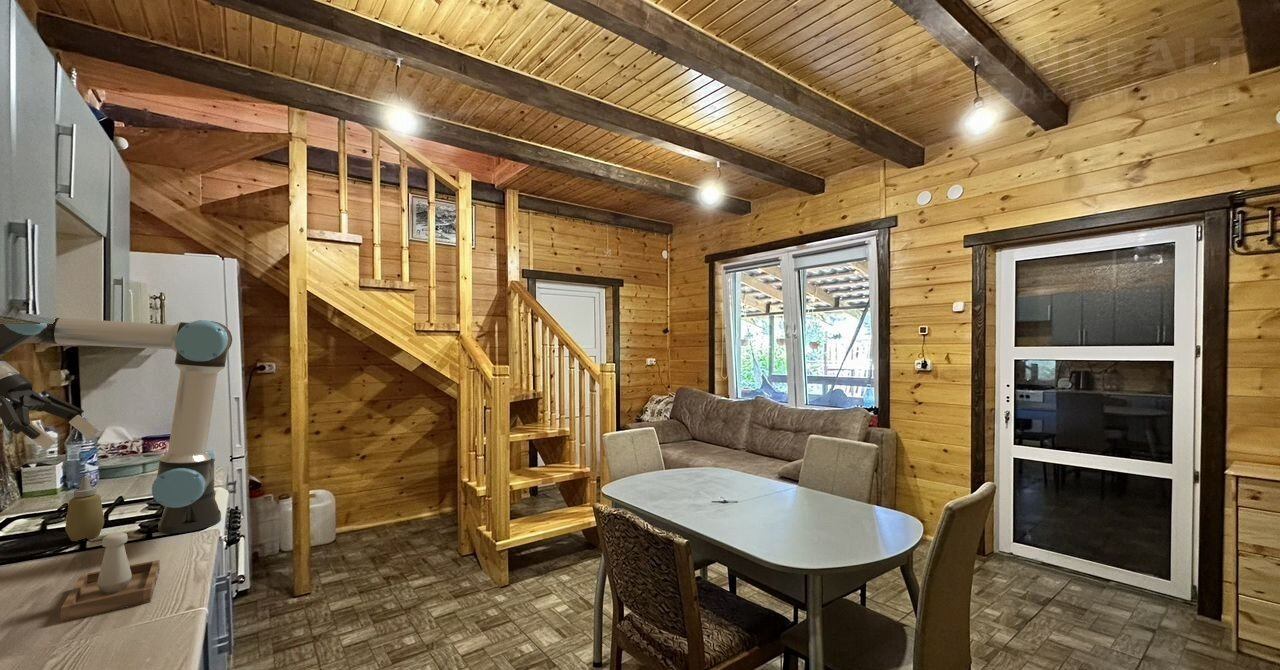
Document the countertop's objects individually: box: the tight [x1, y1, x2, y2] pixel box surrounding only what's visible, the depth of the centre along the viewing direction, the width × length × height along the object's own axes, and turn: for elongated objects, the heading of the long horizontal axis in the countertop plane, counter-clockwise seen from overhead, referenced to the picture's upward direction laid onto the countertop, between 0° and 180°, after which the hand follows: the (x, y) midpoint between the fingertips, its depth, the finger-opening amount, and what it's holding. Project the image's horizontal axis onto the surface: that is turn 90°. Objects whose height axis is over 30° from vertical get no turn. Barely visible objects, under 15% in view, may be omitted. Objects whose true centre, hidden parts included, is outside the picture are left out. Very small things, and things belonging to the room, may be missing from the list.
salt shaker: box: [97, 531, 132, 594], centre depth 125 cm, size 6×6×13 cm
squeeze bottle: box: [64, 476, 105, 542], centre depth 157 cm, size 8×8×18 cm
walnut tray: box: [60, 559, 161, 623], centre depth 125 cm, size 19×14×3 cm
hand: (73, 440), depth 140 cm, fingers open, 13 cm apart
